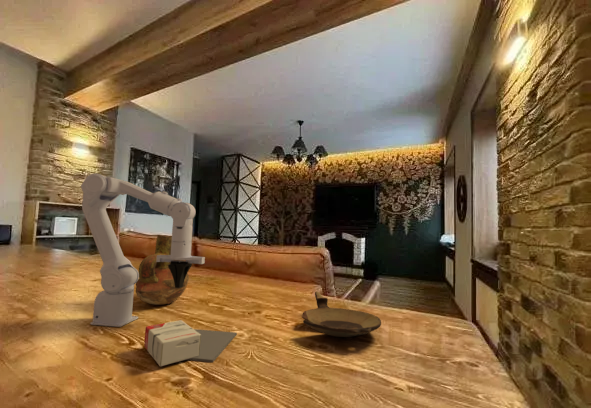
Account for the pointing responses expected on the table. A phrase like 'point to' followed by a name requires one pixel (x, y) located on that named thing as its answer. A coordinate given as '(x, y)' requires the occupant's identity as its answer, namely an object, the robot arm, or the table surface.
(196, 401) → the table surface
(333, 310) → the broken handled dish
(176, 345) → the ink box
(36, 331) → the table surface
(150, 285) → the ceramic vessel
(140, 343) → the table surface
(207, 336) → the mat
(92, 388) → the table surface
